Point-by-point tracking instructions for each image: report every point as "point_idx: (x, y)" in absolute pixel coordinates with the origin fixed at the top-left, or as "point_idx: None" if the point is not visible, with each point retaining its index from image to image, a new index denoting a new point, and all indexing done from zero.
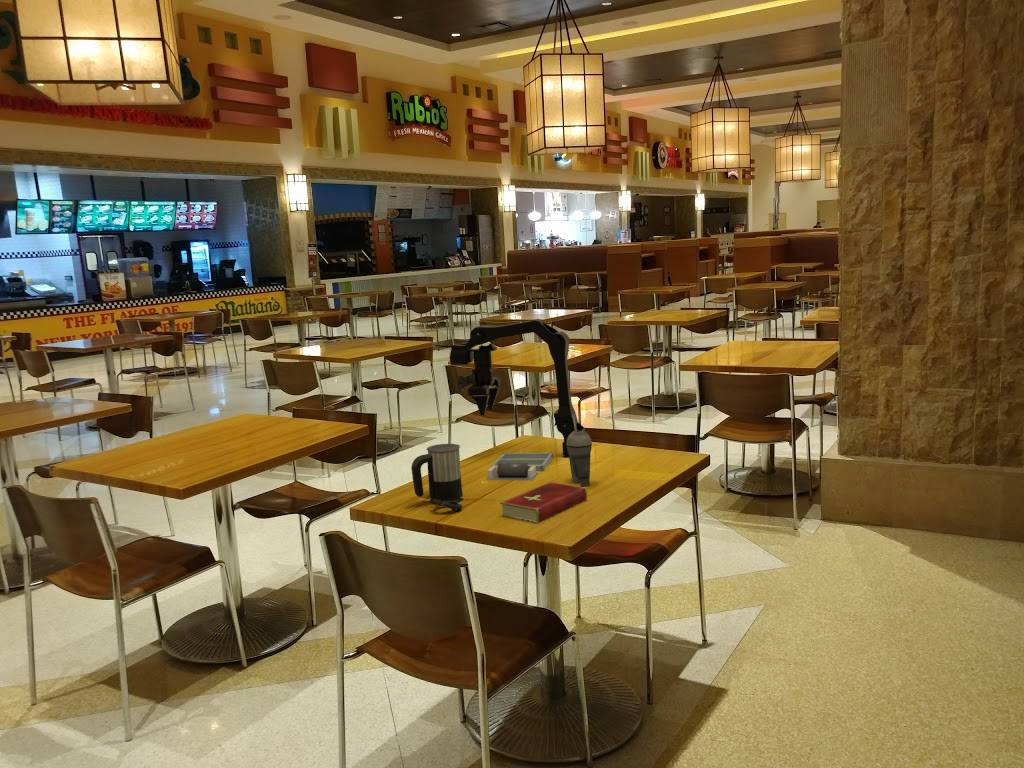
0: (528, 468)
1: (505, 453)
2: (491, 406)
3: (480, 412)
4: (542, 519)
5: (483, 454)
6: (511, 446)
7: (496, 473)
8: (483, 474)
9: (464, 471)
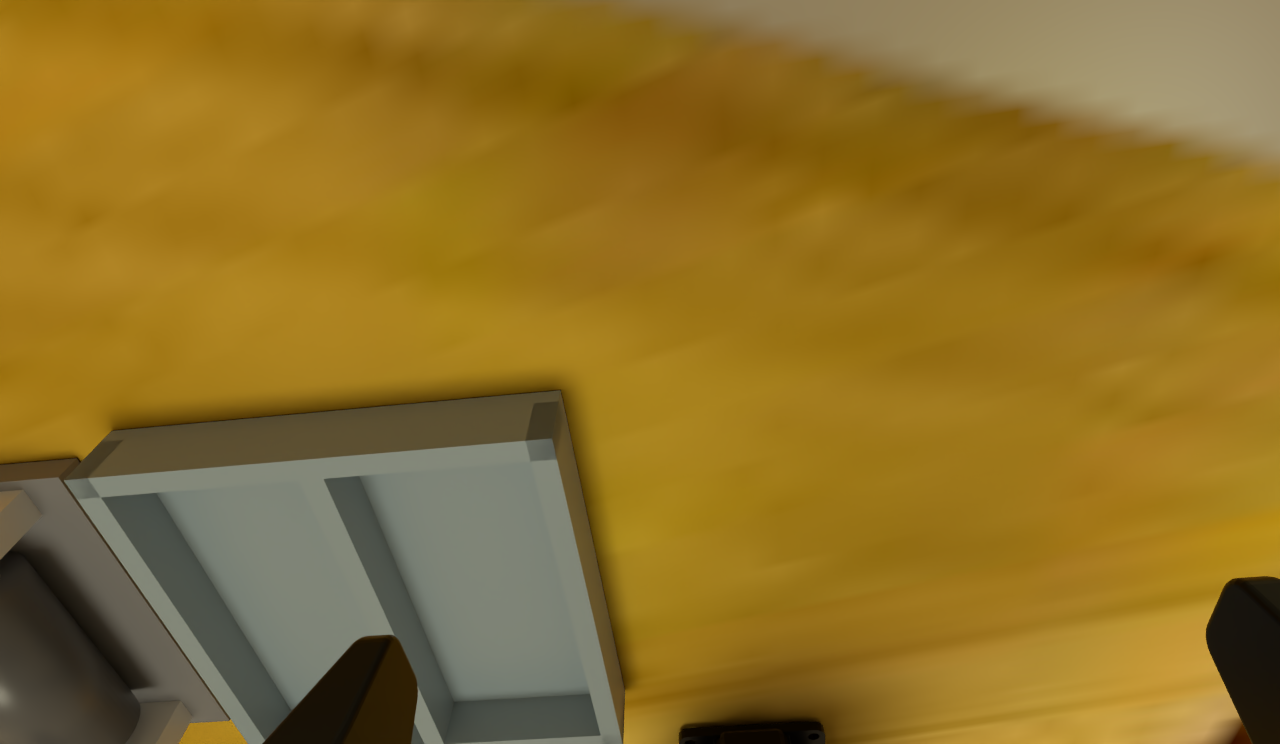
0: (134, 729)
1: (539, 458)
2: (1263, 735)
3: (299, 726)
4: None
5: (820, 54)
6: (1198, 261)
7: (31, 520)
8: (64, 371)
9: (40, 143)
